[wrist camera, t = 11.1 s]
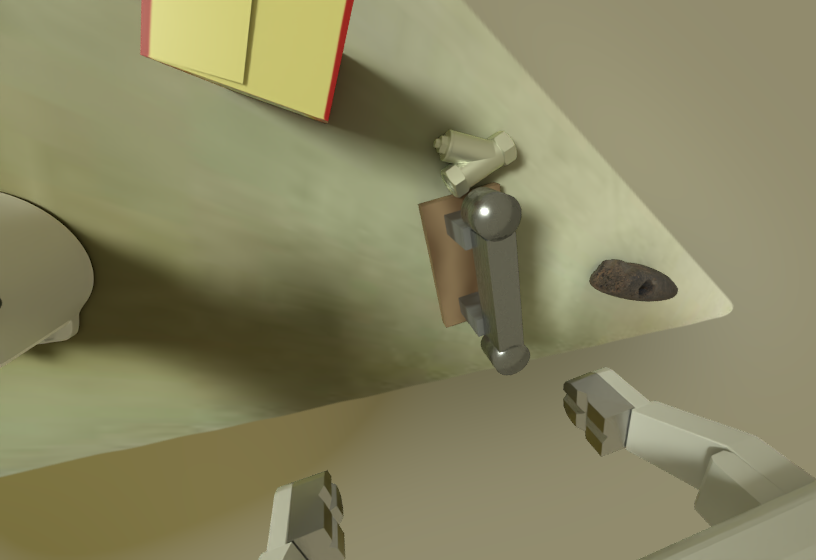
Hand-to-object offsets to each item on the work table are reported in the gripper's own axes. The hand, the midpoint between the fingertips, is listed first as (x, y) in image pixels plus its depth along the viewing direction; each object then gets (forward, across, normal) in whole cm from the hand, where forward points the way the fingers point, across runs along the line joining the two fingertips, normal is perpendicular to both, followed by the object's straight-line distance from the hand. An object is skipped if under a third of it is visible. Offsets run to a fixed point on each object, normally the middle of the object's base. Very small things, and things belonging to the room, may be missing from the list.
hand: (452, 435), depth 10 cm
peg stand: (+31, -12, +10) cm, 35 cm away
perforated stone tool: (+31, -37, +21) cm, 53 cm away
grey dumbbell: (+24, -12, +10) cm, 28 cm away
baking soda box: (+31, +3, -15) cm, 35 cm away
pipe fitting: (+32, -14, -4) cm, 35 cm away
